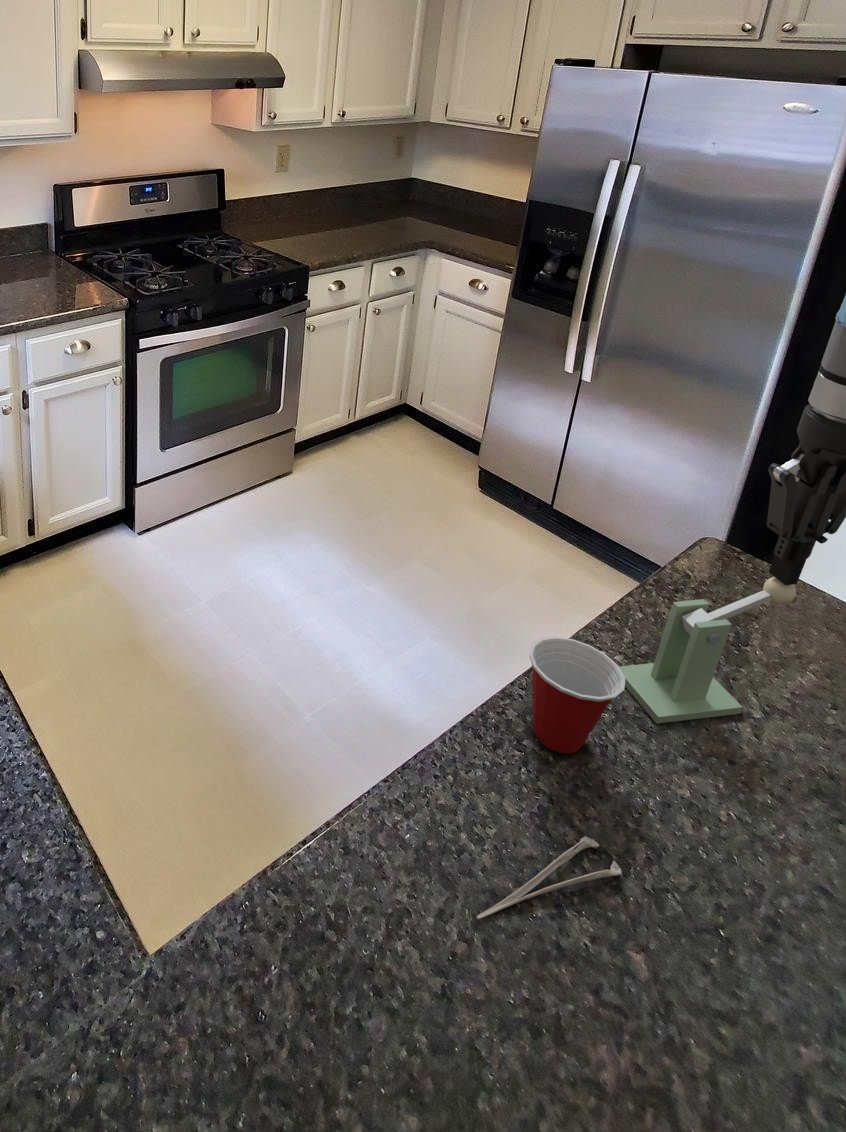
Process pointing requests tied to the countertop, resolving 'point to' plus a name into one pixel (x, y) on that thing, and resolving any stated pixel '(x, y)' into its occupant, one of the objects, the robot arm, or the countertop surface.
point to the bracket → (684, 671)
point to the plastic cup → (570, 691)
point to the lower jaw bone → (566, 856)
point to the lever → (743, 604)
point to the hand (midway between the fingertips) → (782, 577)
